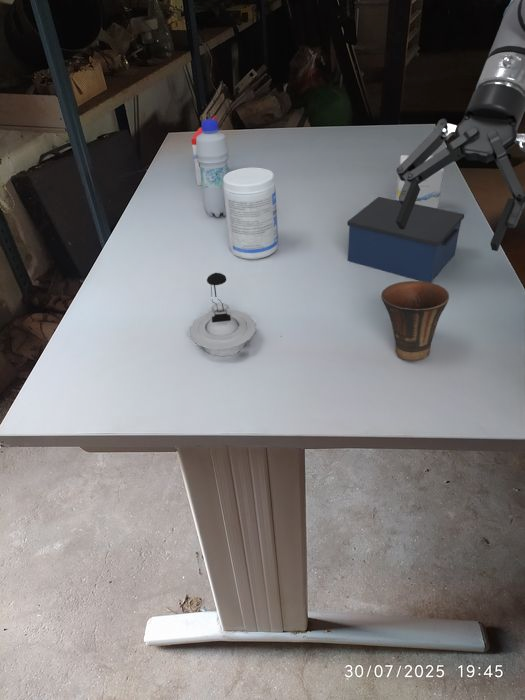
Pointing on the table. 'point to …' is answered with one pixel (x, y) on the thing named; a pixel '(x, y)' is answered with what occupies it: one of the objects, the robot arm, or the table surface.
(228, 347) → the round stand with stem
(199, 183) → the spray bottle
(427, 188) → the ink box
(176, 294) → the table surface
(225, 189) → the supplement tub
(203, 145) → the bottle
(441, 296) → the cup
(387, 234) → the storage box
